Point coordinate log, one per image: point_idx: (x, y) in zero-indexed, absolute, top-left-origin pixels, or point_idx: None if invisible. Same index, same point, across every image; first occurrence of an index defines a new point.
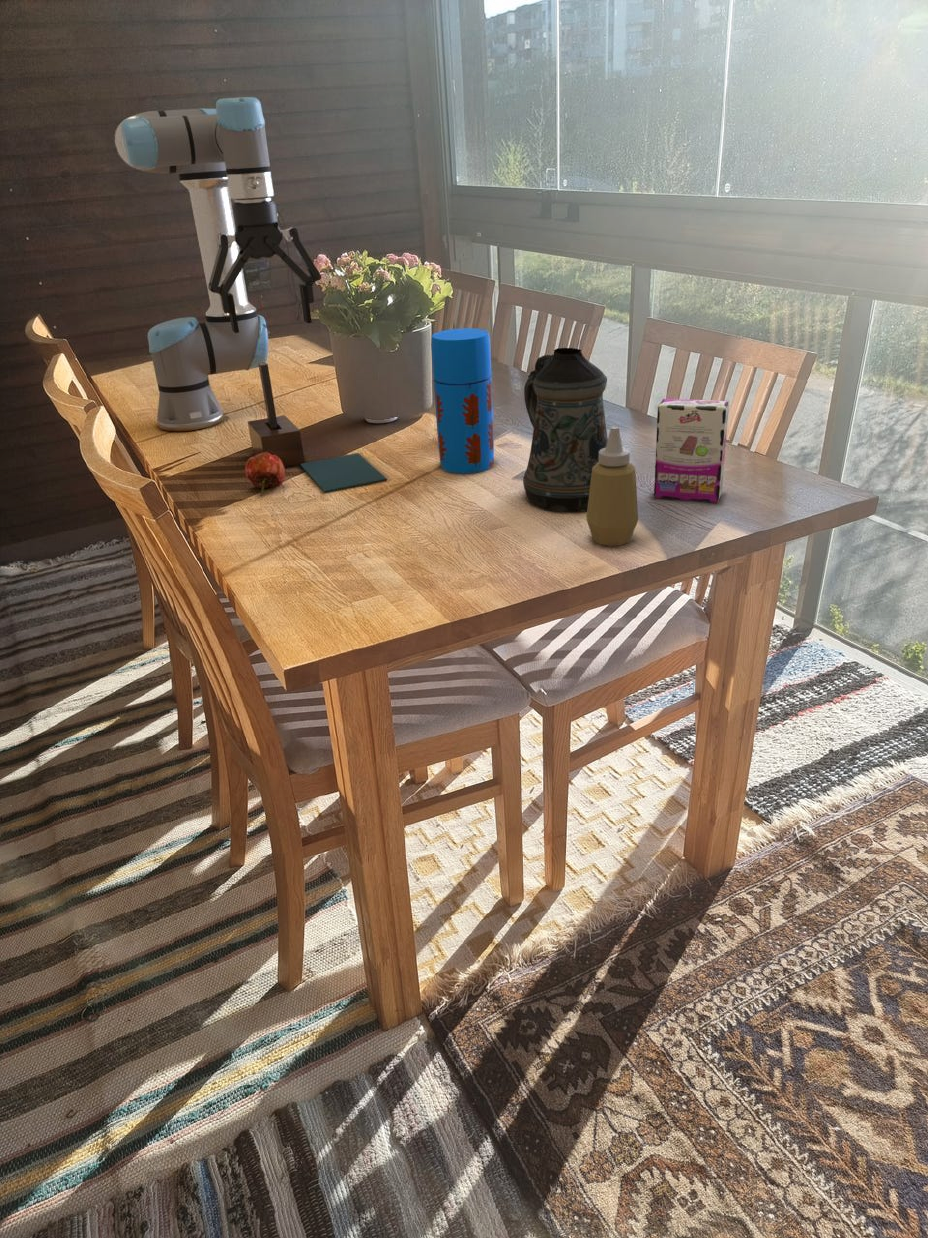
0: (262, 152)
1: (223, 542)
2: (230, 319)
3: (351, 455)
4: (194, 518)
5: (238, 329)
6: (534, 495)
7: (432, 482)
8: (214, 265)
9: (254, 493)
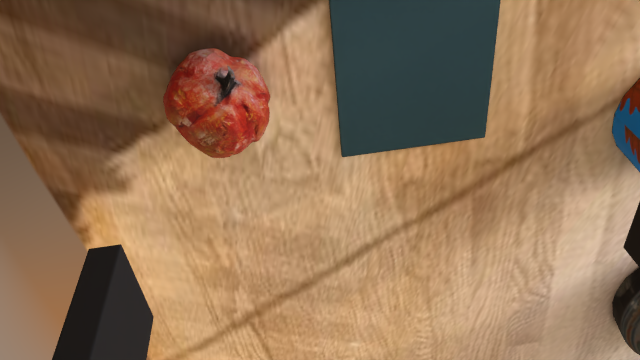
0: None
1: None
2: (69, 320)
3: None
4: (60, 191)
5: (148, 332)
6: (619, 321)
7: (552, 175)
8: None
9: None
